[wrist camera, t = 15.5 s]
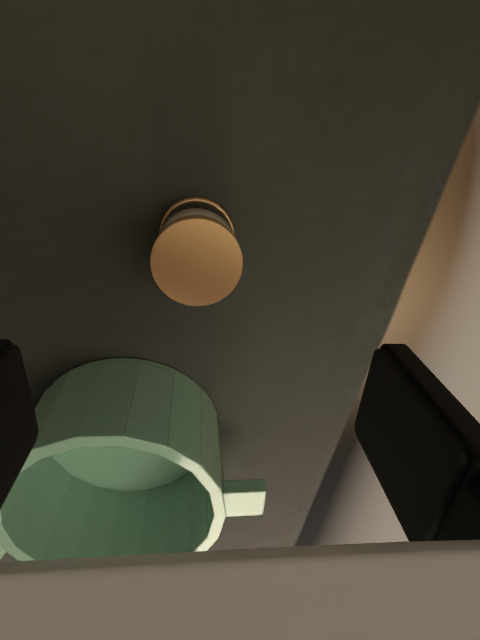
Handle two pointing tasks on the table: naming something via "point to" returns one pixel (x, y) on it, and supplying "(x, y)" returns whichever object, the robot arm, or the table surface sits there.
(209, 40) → the table surface
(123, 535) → the pot
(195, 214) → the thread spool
